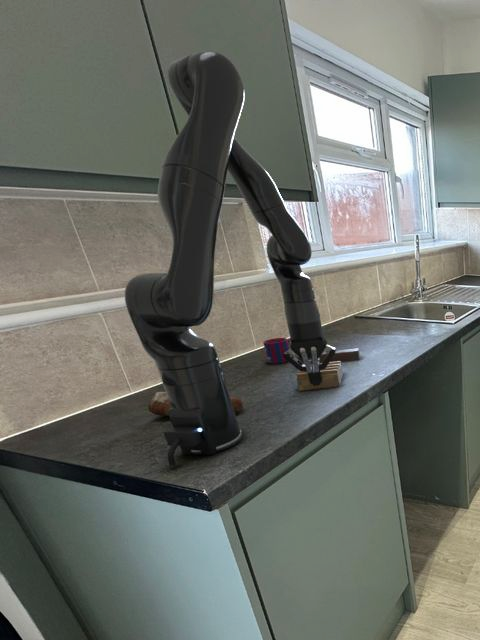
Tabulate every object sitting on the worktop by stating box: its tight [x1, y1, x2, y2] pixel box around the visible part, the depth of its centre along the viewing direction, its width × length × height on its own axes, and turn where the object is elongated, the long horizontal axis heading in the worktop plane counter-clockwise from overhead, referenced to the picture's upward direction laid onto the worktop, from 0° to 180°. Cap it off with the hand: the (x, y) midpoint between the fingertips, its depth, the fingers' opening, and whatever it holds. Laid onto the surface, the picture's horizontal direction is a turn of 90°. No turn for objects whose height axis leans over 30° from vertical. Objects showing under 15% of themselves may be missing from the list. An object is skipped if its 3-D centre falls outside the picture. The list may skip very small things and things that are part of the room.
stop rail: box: [295, 347, 361, 364], centre depth 131 cm, size 3×18×3 cm, turn 106°
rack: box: [296, 361, 344, 392], centre depth 114 cm, size 10×10×4 cm
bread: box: [147, 391, 244, 417], centre depth 96 cm, size 6×19×6 cm, turn 90°
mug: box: [263, 337, 296, 365], centre depth 134 cm, size 7×10×7 cm
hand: (316, 384), depth 108 cm, fingers closed
